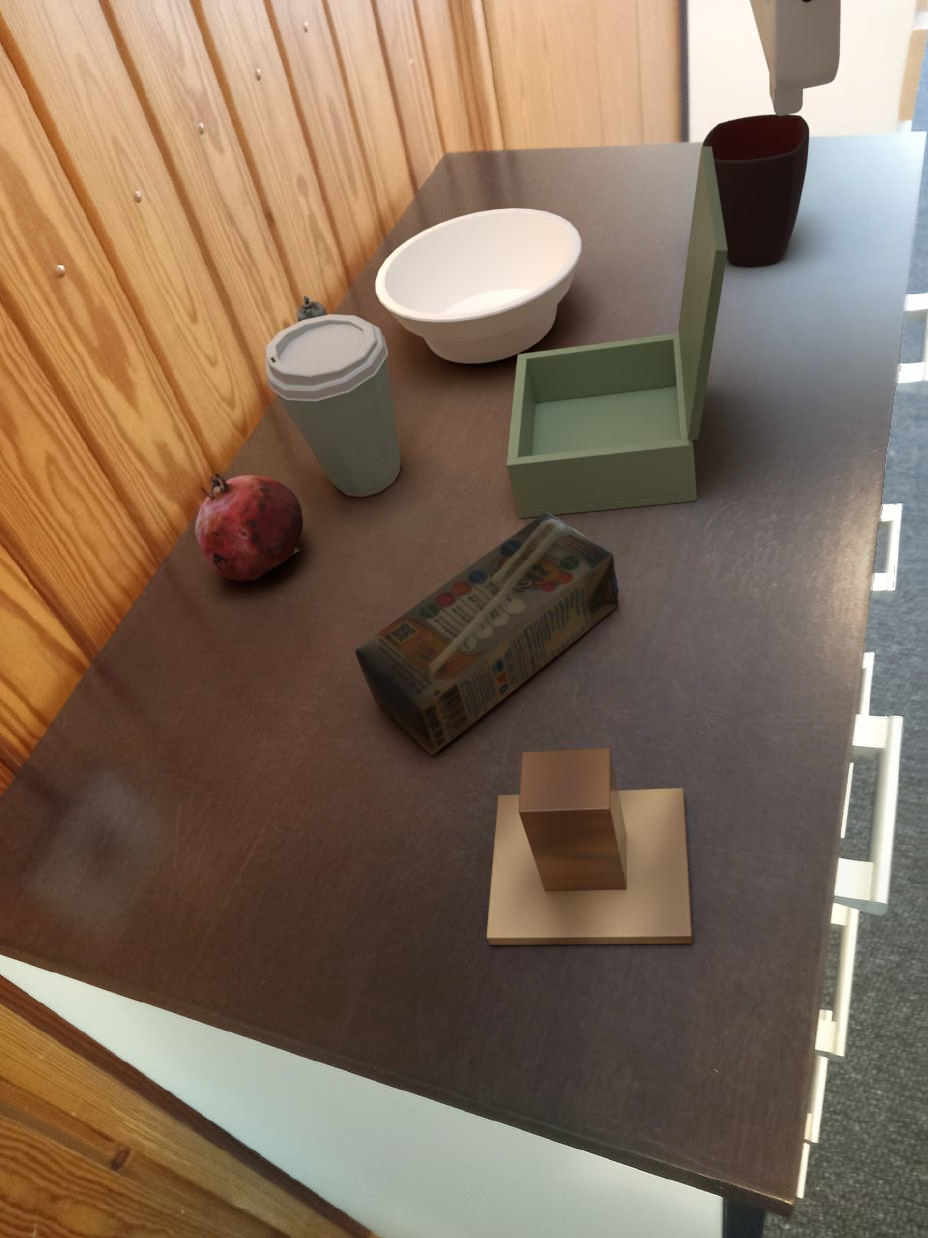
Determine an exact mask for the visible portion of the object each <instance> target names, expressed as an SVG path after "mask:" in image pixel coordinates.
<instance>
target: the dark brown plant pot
mask: <svg viewBox="0 0 928 1238" xmlns="http://www.w3.org/2000/svg"><path fill="white" fill-rule="evenodd" d="M809 144H810V127H809V124H808V121H806V120H805V118H804V117H803V116H802V115H800V114H788V115H782V116H779V115H776V113H773V114H759V115H750V116H745V117H739V118H735V119H731V120H730V119H729V120H727V121H722V122H719V123H717V124H716V125H715V126H714V127H713V128H711V130H710V131H709V132H708V134H706V136H705V138H704V140H703V141H702V146H701V147H707V146H711V147H712V152H713V158H714V165H715V171H716V178H717V184H718V191H719V197H720V203H721V210H722V216H723V223H724V229H725V236H726V242H727V249H728V252H727V258H726V260H727V261H728V263H729V264H730V265H732V266H738V267H759V266H766V265H771V264H776V263H779V262H780V261H781V260H782V259H783V258H784V256H785V255H786V253H787V250H788V247H789V244H790V242H791V238H792V235H793V232H794V229H795V226H796V222H797V217H798V214H799V208H800V205H801V201H802V196H803V195H802V194H803V190H804V185H805V179H806V174H807V166H808V161H809V149H810V148H809V147H810V145H809Z"/></svg>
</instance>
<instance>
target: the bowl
mask: <svg viewBox="0 0 928 1238" xmlns="http://www.w3.org/2000/svg"><path fill="white" fill-rule="evenodd" d="M582 247H583V241H582V238H581V235H580V233H579V231H578V230H577V228H576V227H575V226H574V225H573V224H572V223H571V222H570V221H568V220H567V219H565V218H564V217H562V216H560V215H557V214H555V213H552V212H548V211H545V210H540V209H534V208H517V207H513V208H512V207H510V208H509V207H508V208H495V209H490V210H482V211H477V212H473V213H468V214H465V215H461V216H457V217H453V218H452V219H448V220H445V221H442V222H440V223H438V224H436V225H434V226H431V227H429V228H426V229H424V230H423V231H421V232H419V233H418V234H415V235H414V236H412V237H410V238H409V239H407V240H406V241H405V242H403V243H402V244H401V245H399V246H398V247H397V248H396V249H394V250H393V252H392V253H391V254H389V256H388V257H387V258H385V260H384V262H383V263H382V265H381V266H380V268H379V269H378V272H377V275H376V279H375V285H374V286H375V294H376V296H377V298H378V300H379V303H380V304H381V305H382V306H383V307H384V308H385V309H386V310H387V311H388V312H389V313H390V314H391V316H393V318H395V320H396V321H397V322H398V323H399V324H401V325H402V327H404V329H406V331H408V332H410V333H412V334H414V335H417V336H418V337H421V338H422V339H423V340H424V341H425V343H426V344H427V345H428V347H429V348H430V350H431V351H432V352H434V354H436V356H439V358H442V359H444V360H446V361H450V362H454V363H461V364H484V363H491V362H497V361H500V360H504V359H507V358H511V357H512V356H515V355H519V354H521V353H522V352H524V351H526V350H529V349H530V348H531V347H533V346H534V345H536V344H537V343H539V342H540V341H541V340H542V339H544V338H545V336H547V335H548V333H549V332H550V330H551V329H552V328H553V326H554V323H555V321H556V315H557V311H558V304H559V303H560V302H561V301H562V299H563V298H564V297H565V296H566V294H567V293H568V292H569V290H570V287H571V285H572V282H573V280H574V277H575V274H576V271H577V268H578V264H579V261H580V258H581V255H582Z"/></svg>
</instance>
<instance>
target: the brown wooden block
mask: <svg viewBox="0 0 928 1238" xmlns="http://www.w3.org/2000/svg"><path fill="white" fill-rule="evenodd" d="M611 751H612V750H611V748H609V747H604V748H603V747H601V748H584V749H583V748H581V749H561V750H539V751H523V752H522V754H521V768H520V783H519V794H520V796H519V815H520V818H521V821H522V824H523V827H524V830H525V833H526V836H527V839H528V842H529V845H530V848H531V851H532V854H533V857H534V860H535V863H536V866H537V869H538V872H539V875H540V878H541V882H542V885H543V888H544V890H545V891H565V890H617V889H627V850H626V828H625V823H624V818H623V813H622V807H621V802H620V797H619V792H618V791H619V787H618V783H617V782H618V781H617V778H616V777H617V776H616V772H615V767H614V762H613V757H612V753H611Z"/></svg>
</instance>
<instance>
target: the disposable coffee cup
mask: <svg viewBox="0 0 928 1238" xmlns="http://www.w3.org/2000/svg"><path fill="white" fill-rule="evenodd" d="M388 355H389V351H388V347H387V342H386V339H385V336H384V335H383V333H382V330H381V328H380V327H379V326H376V325H374V324H373V323H371V322H369V321H367V320H365V319H363V318H361V317H359V316H357V315H353V314H352V315H351V314H349V315H348V314H334V313H333V314H331V313H330V314H327V315H324V316H320V317H315V318H311V319H306V320H302V321H300V322H298V321H297V322H296V323H294V324H292V325H290V326H288V327H287V328H284V329H282V330H280V331H279V332H277V334H276V335H275V336H274V337H273V338H272V340H271V341H270V342H269V343H268V344H267V345H266V346H265V357H266V359H265V361H264V362H265V373H266V374H265V375H266V378H267V384H268V386H269V388H270V389H271V391H272V392H274V393H275V394H276V395H277V397H278V398H279V400H280V401H281V403H282V406H284V408H285V410H286V411H287V413H288V414H289V416H290V418H291V419H292V421H293V423H294V424H295V426H296V427H297V429H298V431H299V433H300V434H301V435H302V437H303V439H304V440H305V442H306V444H307V445H308V447H309V448H310V450H311V452H312V454H313V455H314V456H315V458H316V460H317V461H318V463H319V464H320V467H321V468H322V470H323V471H324V473H325V474H326V476H327V478H328V479H329V481H330V483H331V484H332V485H333V486H334V487H336V488H337V489H338V490H339V491H340V492H342V493H343V494H344V495H346V496H348V497H359V498H365V497H368V496H371V495H376V494H379V493H382V492H383V491H384V490H386V489H387V488H389V487H390V486H391V485H392V484H394V483H395V481H396V479H397V477H398V475H399V474H400V472H401V469H400V467H401V466H402V460H401V453H400V446H399V445H400V444H399V439H398V431H397V423H396V417H395V411H394V410H395V409H394V404H393V403H394V402H393V397H392V390H391V382H390V375H389V367H388V360H387V357H388Z"/></svg>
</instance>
